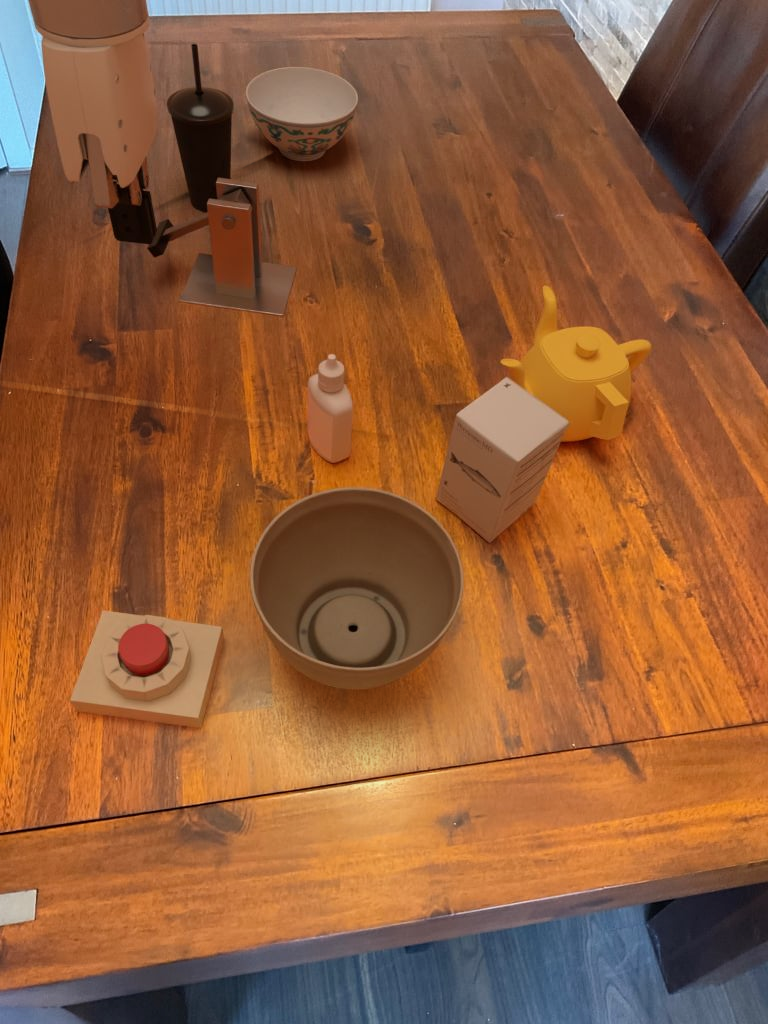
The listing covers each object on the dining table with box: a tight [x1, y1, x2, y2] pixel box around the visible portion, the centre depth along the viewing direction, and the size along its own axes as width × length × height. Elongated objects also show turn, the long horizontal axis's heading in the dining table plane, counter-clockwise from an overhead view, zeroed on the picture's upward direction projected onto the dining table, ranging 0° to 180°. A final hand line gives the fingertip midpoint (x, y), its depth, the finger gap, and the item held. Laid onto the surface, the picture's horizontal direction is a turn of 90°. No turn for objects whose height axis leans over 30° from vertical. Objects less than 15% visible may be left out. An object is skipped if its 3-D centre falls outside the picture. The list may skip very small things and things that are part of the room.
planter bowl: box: [249, 486, 464, 690], centre depth 65 cm, size 16×16×11 cm
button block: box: [69, 609, 225, 729], centre depth 64 cm, size 10×8×4 cm
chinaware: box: [245, 66, 359, 162], centre depth 111 cm, size 15×15×8 cm
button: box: [118, 624, 169, 675], centre depth 62 cm, size 4×4×2 cm
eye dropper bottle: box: [306, 353, 354, 464], centre depth 77 cm, size 4×6×12 cm
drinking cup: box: [166, 43, 235, 213], centre depth 96 cm, size 8×8×20 cm
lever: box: [146, 189, 253, 258], centre depth 88 cm, size 12×5×2 cm, turn 84°
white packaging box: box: [435, 376, 569, 544], centre depth 74 cm, size 7×7×13 cm
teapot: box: [500, 285, 652, 443], centre depth 84 cm, size 14×13×10 cm
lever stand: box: [178, 178, 298, 317], centre depth 89 cm, size 12×9×13 cm
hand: (136, 236), depth 68 cm, fingers closed
